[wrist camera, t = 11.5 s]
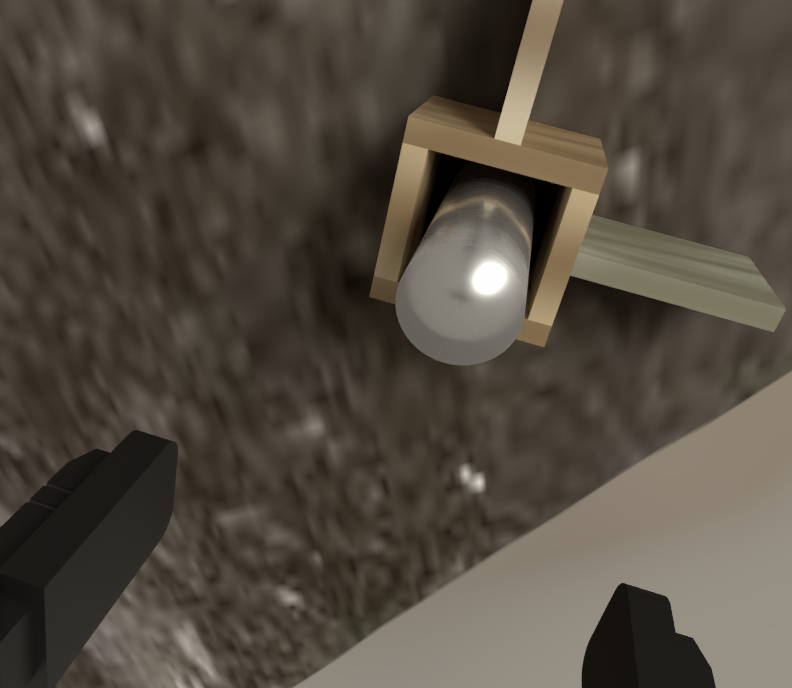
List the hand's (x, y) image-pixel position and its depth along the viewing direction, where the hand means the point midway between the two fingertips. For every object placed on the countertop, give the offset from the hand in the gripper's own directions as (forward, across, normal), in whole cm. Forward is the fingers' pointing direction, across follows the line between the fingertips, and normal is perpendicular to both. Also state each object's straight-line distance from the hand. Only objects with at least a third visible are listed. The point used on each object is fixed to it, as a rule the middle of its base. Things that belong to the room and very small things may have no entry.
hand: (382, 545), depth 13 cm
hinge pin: (+24, 0, 0) cm, 24 cm away
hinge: (+24, -4, -4) cm, 24 cm away
